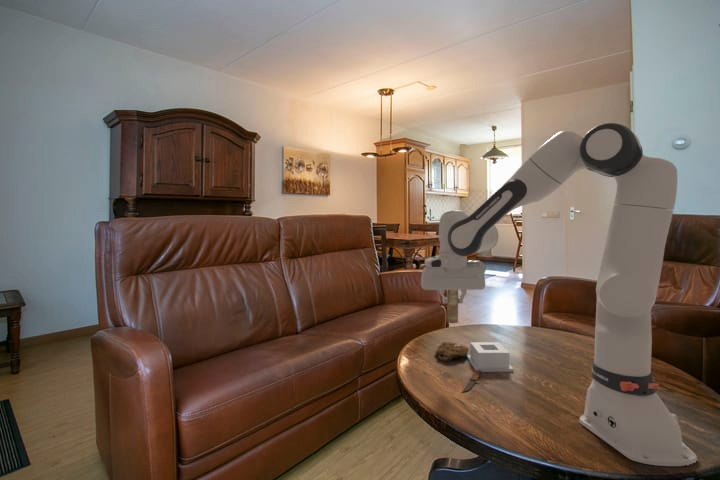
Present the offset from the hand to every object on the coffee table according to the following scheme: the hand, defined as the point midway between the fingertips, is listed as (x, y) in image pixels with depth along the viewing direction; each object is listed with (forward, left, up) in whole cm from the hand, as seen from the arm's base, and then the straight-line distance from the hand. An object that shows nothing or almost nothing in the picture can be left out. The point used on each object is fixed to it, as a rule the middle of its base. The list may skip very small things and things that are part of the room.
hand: (452, 303), depth 118 cm
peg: (0, 0, -6) cm, 6 cm away
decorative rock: (+14, -3, -23) cm, 27 cm away
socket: (+6, -14, -23) cm, 27 cm away
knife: (-8, -5, -23) cm, 25 cm away
